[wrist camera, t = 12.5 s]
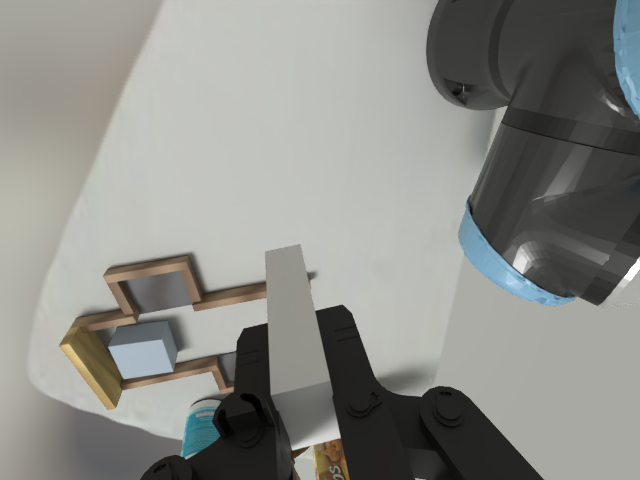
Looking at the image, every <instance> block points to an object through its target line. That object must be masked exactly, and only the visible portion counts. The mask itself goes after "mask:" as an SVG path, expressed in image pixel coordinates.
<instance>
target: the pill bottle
mask: <svg viewBox="0 0 640 480" xmlns="http://www.w3.org/2000/svg"><path fill="white" fill-rule="evenodd" d="M220 403H221V401H219V400H212V399H210V400H203V401H200V402H197V403H196V404H194V405H193V406H192V407H191V408H190V409H189V411H188V414H187V420H186V426H185V432H184V438H183V445H182V451H181V457H184V458H185V459H188V458H190V457H191V456H193V455H195V454H196V453H198V452H200V451H201V450H203V449H205V448H206V447H208V446H209V445H211V444H212V443H213V442H215V441H216V440H217V439H218V438H219V437H220V434H219V433H218V431H217V429H216V428H215V426H214V424H213V423H212V419H213V416H214V412H215V410H216V409H217V407H218V406H219V404H220Z"/></svg>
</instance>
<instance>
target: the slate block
mask: <svg viewBox="0 0 640 480" xmlns="http://www.w3.org/2000/svg"><path fill="white" fill-rule="evenodd" d="M108 348H109V350H110V352H111V354H112V356H113V358H114V360H115V362H116V364H117V367H118V369H119V371H120V373H121V375H122V377H123V379H129V378H135V377H142V376H148V375H155V374H161V373H168V372H173V371H174V367H175V363H176V358H177V354H178V351H177V348H176V345H175V341H174V338H173V335H172V332H171V329H170V326H169V323H168V320H167V321H159V322H151V323H144V324H136V325H128V326H120V327H117V328H116V331H115V333H114V335H113V337H112V339H111V341H110V343H109V346H108Z"/></svg>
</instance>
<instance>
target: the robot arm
mask: <svg viewBox="0 0 640 480" xmlns="http://www.w3.org/2000/svg"><path fill="white" fill-rule="evenodd" d="M426 55H427V65H428V70H429V73H430V77H431V79H432V82H433V84H434V86H435V87H436V89H437V90H438V92H439V93H440V94H441V95H442V96H443V97H444V98H445V99H446V100H448V101H449V102H451V103H452V104H454V105H457V106H460V107H464V108H467V109H471V110H491V109H496V108H500V107H504V106H508V107H507V110H506V112H505V115H504V117H503V120H502V122H501V123H500V126H499V128H498V131H497V133H496V136H495V138H494V141H493V143H492V146H491V148H490V150H489V153H488V155H487V158H486V160H485V163H484V165H483V168H482V170H481V173H480V175H479V178H478V180H477V183H476V185H475V187H474V190H473V192H472V195H470V196H469V197H468V199H467V202H466V210H465V213H464V216H463V219H462V222H461V225H460V228H459V234H458V237H459V243H460V245H461V248H462V249H463V251H464V254H465V256H466V257H467V258H468V260H469V261H470V262H471V264H472V265H473V266H474V267H475V268H476V269H477V270H478V271H479V272H481V273H482V274H483V275H484V276H485V277H487V278H488V279H489V280H491V281H492V282H494V283H495V284H496V285H498V286H500V287H501V288H503V289H505V290H506V291H508V292H510V293H512V294H514V295H516V296H518V297H521V298H523V299H526V300H528V301H535V300H537V301H538V302H539V303H541V304H543V305H549V306H560V305H564V304H566V303H568V302H570V301H573V300H575V299H576V297H577V296H578V297H580V298H582V299H584V300H586V301H588V302H590V303H592V304H594V305H597V306H599V307H601V308H605V307H612V306H619V305H626V304H640V0H439V2H438V4H437V6H436V8H435V11H434V13H433V16H432V19H431V23H430V26H429V31H428V37H427V47H426ZM265 262H266V287H267V313H268V323H266V324H261V325H257V326H253V327H249V328H244V329H243V331H242V333H241V335H240V337H239V339H238V341H237V349H236V364H235V367H236V369H235V378H234V392H233V393H231V394H230V395H228V396H227V397H226V398H225V399H223V400H222V401H221V403H220V404H219V406H218V407H217V409H216V410H215V412H214V416H213V419H212V423H213V424H214V426H215V428H216V429H217V431H218V433H219V434H220V437H219V438H218V439H217V440H216V441H215V442H213V443H212V444H211V445H209V446H208V447H206V448H205V449H203V450H201V451H200V452H198V453H196V454H195V455H193V456H191V457H190V458H188V459H185V458H184V457H181V456H178V455H173V456H169V457H164V458H163V459H161V460H159V461H158V462H156V463H154V464H153V465H152V466H151V467H150V468H149V469H148V470H147V471H146V472H145V473H144V474H143V476H142V478H141V479H140V480H296V475H295V471H294V467H293V464H292V462H291V450H290V445H291V448H292V450H296V449H300V448H304V447H308V446H312V445H315V444H319V443H323V442H327V441H331V440H335V439H338V438H341V441H342V446H343V451H344V455H345V460H346V465H347V470H348V474H349V479H350V480H415V478H419V479H426V480H544V479H543V478H542V477H541V476H540V475H539V474H538V473H537V472H536V471H535V469H534V468H533V467H532V466H531V465H530V464H529V463H528V462H527V461H526V460H525V459H524V457H523V456H522V455H521V454H520V453H519V452H518V451H517V450H516V449H515V448H514V446H513V445H512V444H511V443H510V442H509V441H508V440H507V439H506V438H505V437H504V436H503V434H502V433H501V432H500V431H499V430H498V429H497V428H496V427H495V426H494V425H493V423H492V422H491V421H490V420H489V419H488V418H487V417H486V416H485V415H484V414H483V413H482V412H481V411H480V409H479V408H478V407H477V406H476V405H475V404H474V403H473V402H472V401H471V399H470V398H468V397H467V396H466V395H465V394H463V393H462V392H461V391H459V390H456V389H454V388H451V387H444V386H438V387H435V388H431V389H429V390H428V391H427V392H426V393H425V394H424V395H423V396H422V397H417V396H405V395H399V394H395V393H392V392H390V391H388V390H386V389H385V388H384V387H382V386H381V385H380V384H379V382H378V381H377V380H376V378H375V376H374V374H373V371H372V368H371V366H370V363H369V360H368V357H367V354H366V352H365V349H364V346H363V343H362V340H361V338H360V335H359V332H358V329H357V327H356V324H355V321H354V318H353V315H352V313H351V312H350V311H349V310H348V309H347V308H346V307H345V306H343V305H339V306H334V307H330V308H326V309H322V310H317V311H315V309H314V304H313V300H312V295H311V291H310V286H309V282H308V277H307V272H306V268H305V263H304V259H303V254H302V250H301V245H300V244H298V245H294V246H289V247H285V248H280V249H276V250H271V251H267V252H265Z"/></svg>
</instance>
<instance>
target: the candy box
mask: <svg viewBox="0 0 640 480" xmlns="http://www.w3.org/2000/svg"><path fill="white" fill-rule="evenodd" d="M311 451H312V457H313V463H314V469H315V475H316V480H350V479H349V474H348V470H347V465H346V460H345V455H344V451H343V446H342V441H341V438H338V439H335V440H331V441H327V442H323V443H319V444H315V445H312V446H311Z"/></svg>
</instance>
